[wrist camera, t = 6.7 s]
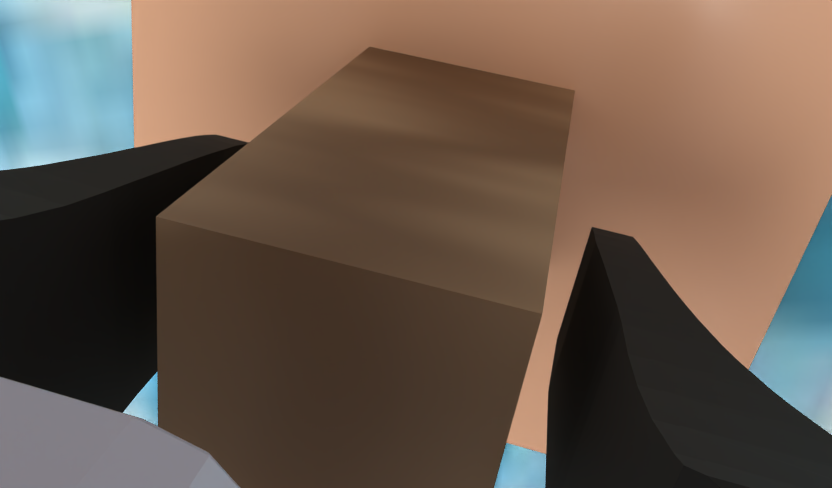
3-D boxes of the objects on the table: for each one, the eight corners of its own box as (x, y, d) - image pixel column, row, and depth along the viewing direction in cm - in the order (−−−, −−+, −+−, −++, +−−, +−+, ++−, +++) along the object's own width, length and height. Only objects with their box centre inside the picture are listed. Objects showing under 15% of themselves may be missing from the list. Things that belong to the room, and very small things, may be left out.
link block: (574, 90, 14) (541, 314, 7) (527, 272, 16) (465, 587, 9) (369, 46, 15) (155, 215, 8) (347, 227, 17) (158, 495, 10)
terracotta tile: (995, -181, 12) (1011, -182, 11) (687, 478, 18) (689, 494, 18) (140, -328, 13) (124, -334, 13) (148, 327, 20) (138, 338, 20)
